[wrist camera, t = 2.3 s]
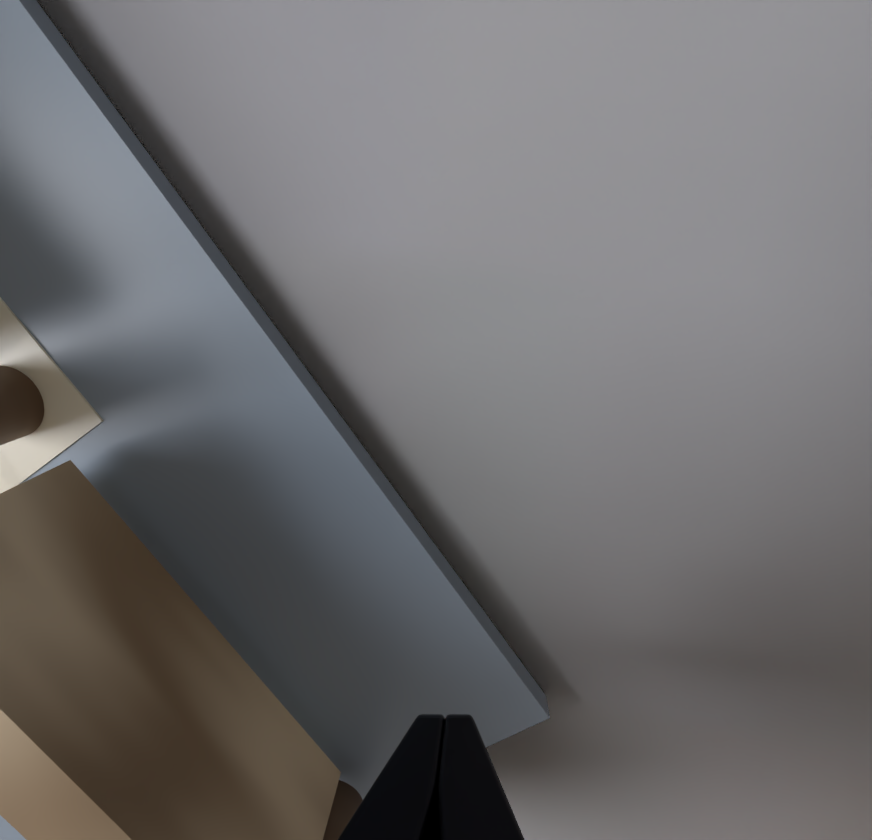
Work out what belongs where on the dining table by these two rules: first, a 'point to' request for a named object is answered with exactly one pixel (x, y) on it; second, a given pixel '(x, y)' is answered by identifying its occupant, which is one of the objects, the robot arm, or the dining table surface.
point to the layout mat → (218, 434)
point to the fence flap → (135, 694)
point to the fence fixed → (18, 405)
